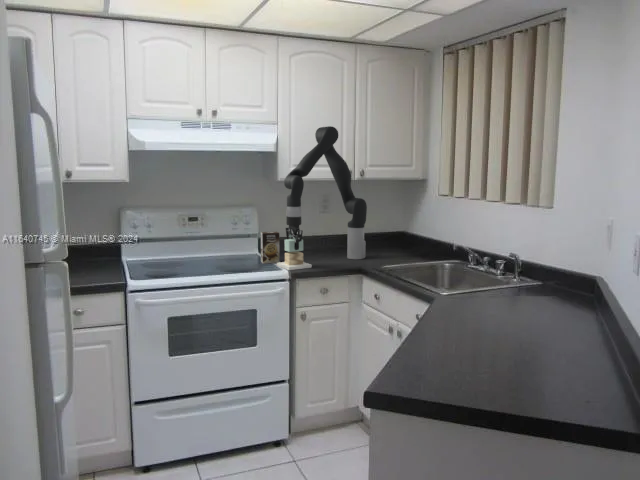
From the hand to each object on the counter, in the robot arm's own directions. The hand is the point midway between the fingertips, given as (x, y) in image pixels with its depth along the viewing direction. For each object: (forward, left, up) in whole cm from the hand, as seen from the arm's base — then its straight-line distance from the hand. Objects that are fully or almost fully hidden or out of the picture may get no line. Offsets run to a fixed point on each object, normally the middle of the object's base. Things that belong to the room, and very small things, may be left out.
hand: (294, 248), depth 268 cm
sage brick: (0, 0, -1) cm, 1 cm away
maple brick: (0, 0, -8) cm, 8 cm away
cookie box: (+6, -16, -9) cm, 19 cm away
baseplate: (0, 0, -9) cm, 9 cm away
